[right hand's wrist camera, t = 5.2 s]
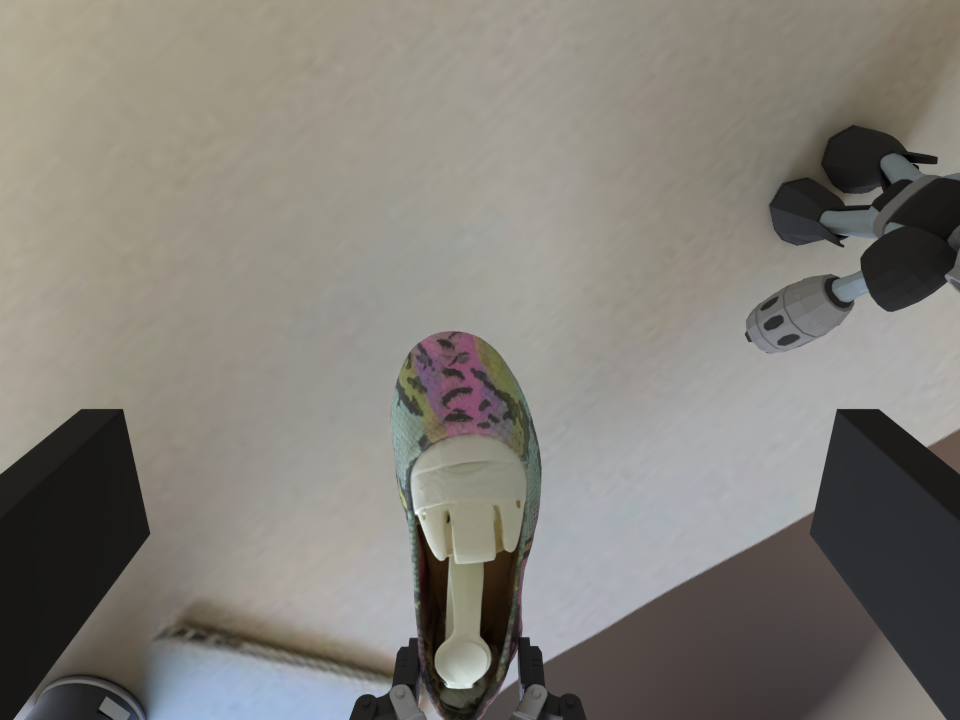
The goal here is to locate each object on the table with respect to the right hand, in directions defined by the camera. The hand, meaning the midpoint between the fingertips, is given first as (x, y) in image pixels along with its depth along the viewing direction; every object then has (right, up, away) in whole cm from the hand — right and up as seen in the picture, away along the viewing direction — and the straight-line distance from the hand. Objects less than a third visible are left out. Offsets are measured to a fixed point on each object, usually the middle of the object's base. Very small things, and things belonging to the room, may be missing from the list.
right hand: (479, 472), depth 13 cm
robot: (+22, +13, +29) cm, 39 cm away
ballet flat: (-1, -7, +29) cm, 30 cm away
